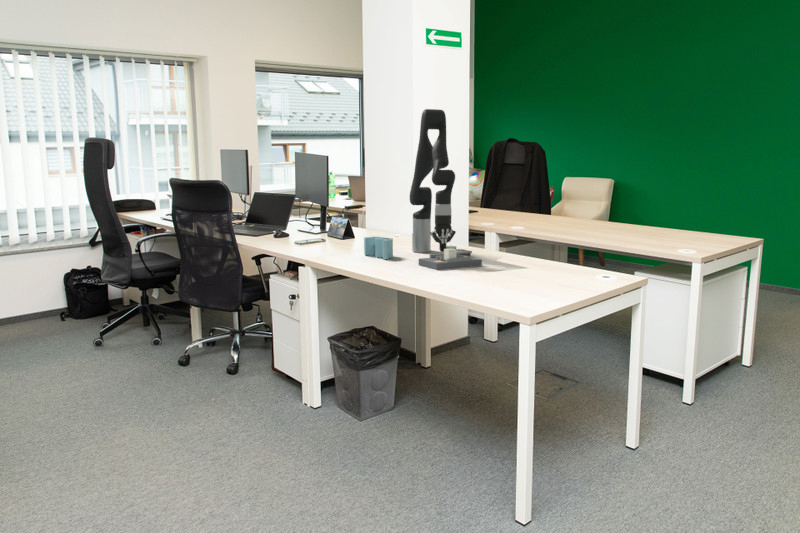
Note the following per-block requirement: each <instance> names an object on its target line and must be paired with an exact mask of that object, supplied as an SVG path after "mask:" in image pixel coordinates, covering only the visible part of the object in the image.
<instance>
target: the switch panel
mask: <svg viewBox="0 0 800 533" xmlns="http://www.w3.org/2000/svg"><path fill="white" fill-rule="evenodd" d="M418 266H420V267H425V268H428V269H431V270H433V271H434V270H435V271H441V270H443V271H445V270H452V269H453V270H454V269H463V268H464V269H465V268H473V267H482V266H483V259H482V258H478V257H477V258H476V257H473V256H470V257H469V256H464V255H460V254H457V255H456V258H449V259H447V261H446V260H444V252H442V253H436V254H435V253H433V254H429V257H425V258H424V257H423V258H418Z"/></svg>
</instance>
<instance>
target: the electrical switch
mask: <svg viewBox="0 0 800 533" xmlns="http://www.w3.org/2000/svg"><path fill="white" fill-rule="evenodd" d="M457 254H460V255H464V256H469V257H472V256H471V255H472V254H473V251H472V250H467V249H463V248H462V249H461V248H458V249H457V248H456V255H457Z"/></svg>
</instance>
